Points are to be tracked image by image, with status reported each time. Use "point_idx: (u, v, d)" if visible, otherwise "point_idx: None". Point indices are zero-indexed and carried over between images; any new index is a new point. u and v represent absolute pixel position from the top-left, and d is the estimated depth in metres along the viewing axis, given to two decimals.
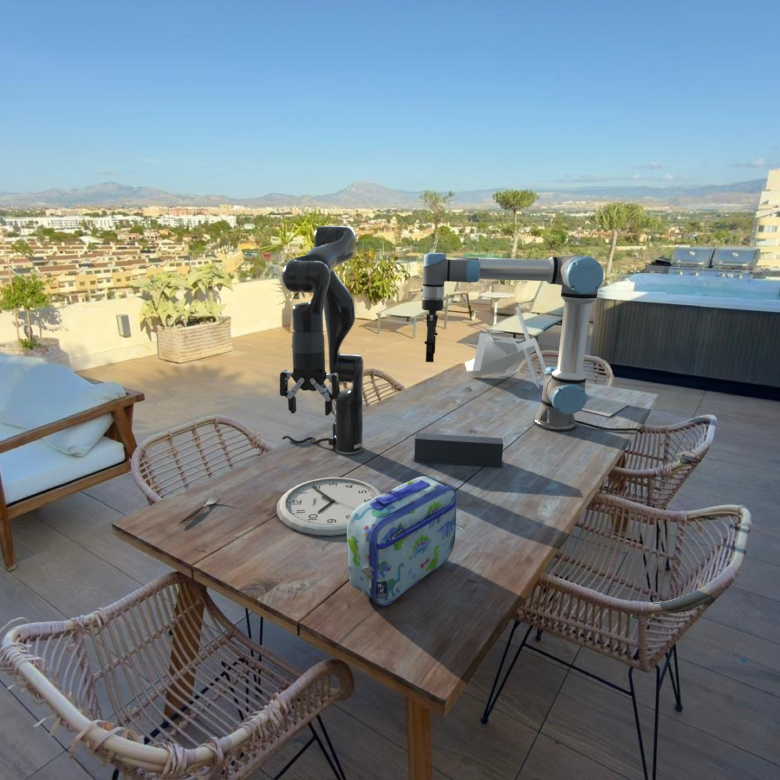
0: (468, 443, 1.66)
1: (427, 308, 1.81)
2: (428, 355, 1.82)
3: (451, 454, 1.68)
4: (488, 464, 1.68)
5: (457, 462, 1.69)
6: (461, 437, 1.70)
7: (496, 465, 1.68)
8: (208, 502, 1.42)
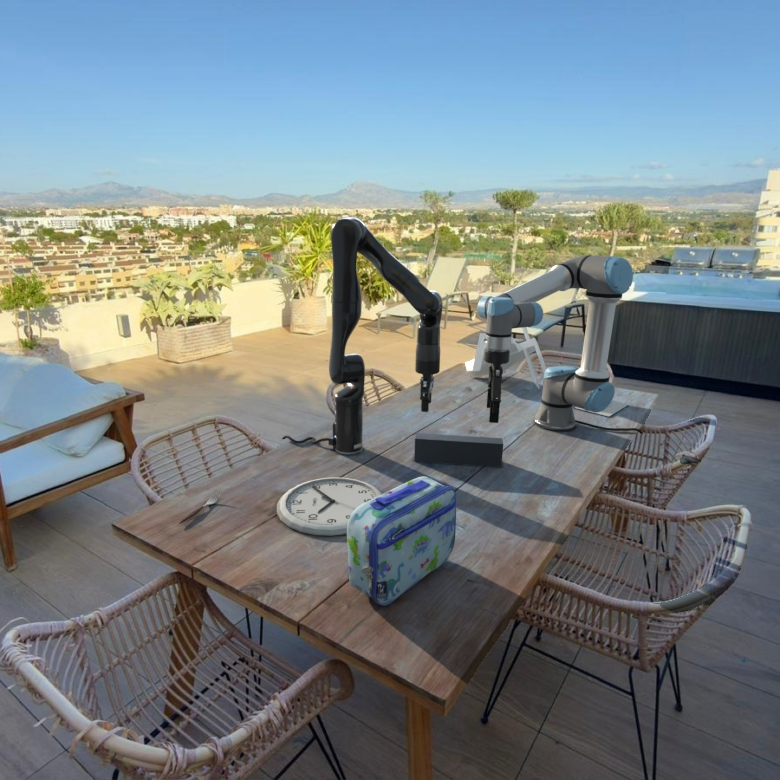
0: (468, 443, 1.66)
1: (492, 361, 1.57)
2: (492, 414, 1.58)
3: (451, 454, 1.68)
4: (488, 464, 1.68)
5: (457, 462, 1.69)
6: (461, 437, 1.70)
7: (496, 465, 1.68)
8: (208, 502, 1.42)
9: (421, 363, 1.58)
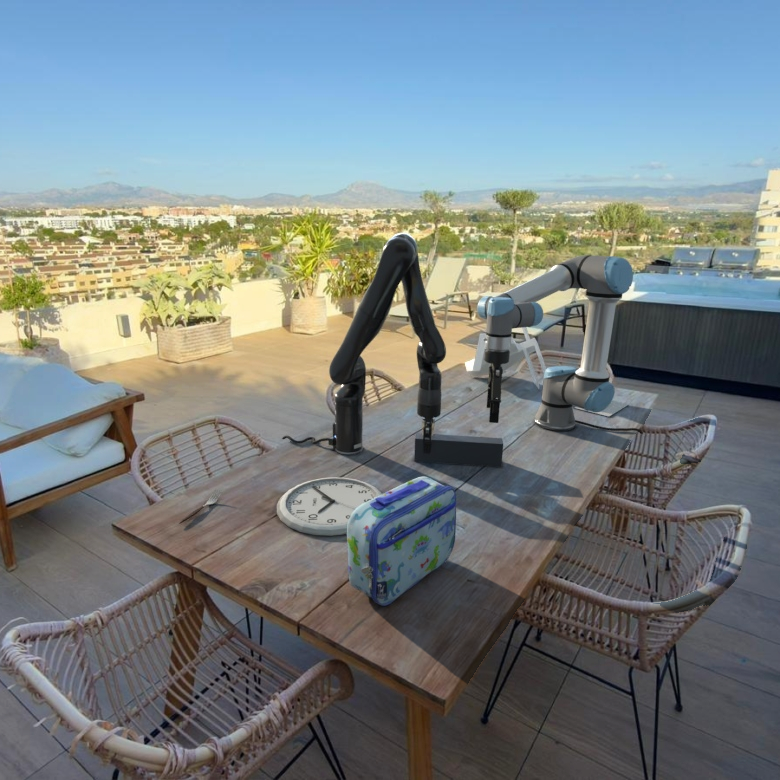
0: (468, 443, 1.66)
1: (492, 361, 1.57)
2: (492, 414, 1.58)
3: (451, 454, 1.68)
4: (488, 464, 1.68)
5: (457, 462, 1.69)
6: (461, 437, 1.70)
7: (496, 465, 1.68)
8: (208, 502, 1.42)
9: (423, 407, 1.64)
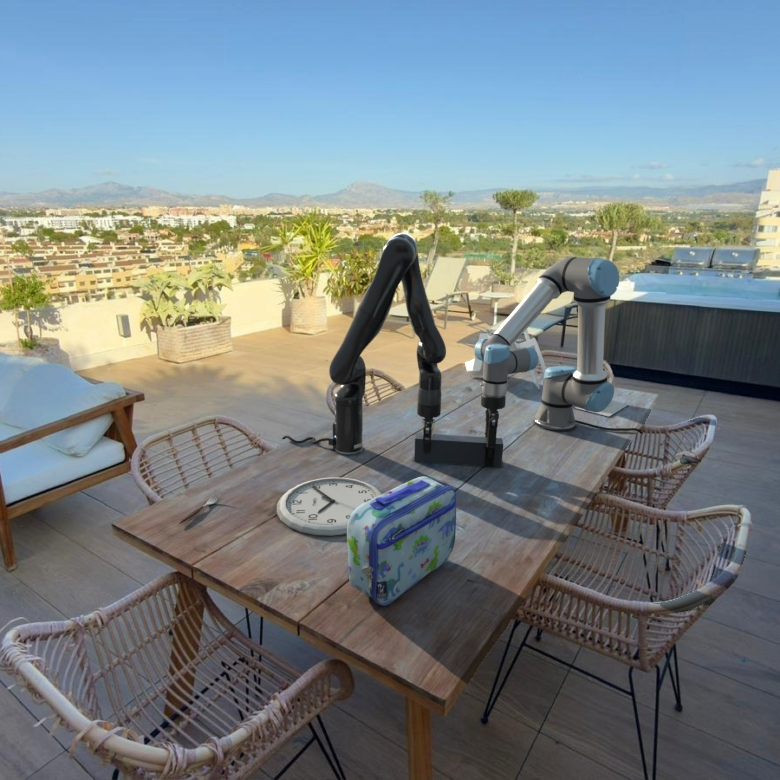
0: (468, 443, 1.66)
1: (488, 406, 1.61)
2: (487, 459, 1.66)
3: (451, 454, 1.68)
4: None
5: (457, 462, 1.69)
6: (461, 437, 1.70)
7: (496, 465, 1.68)
8: (208, 502, 1.42)
9: (423, 407, 1.64)
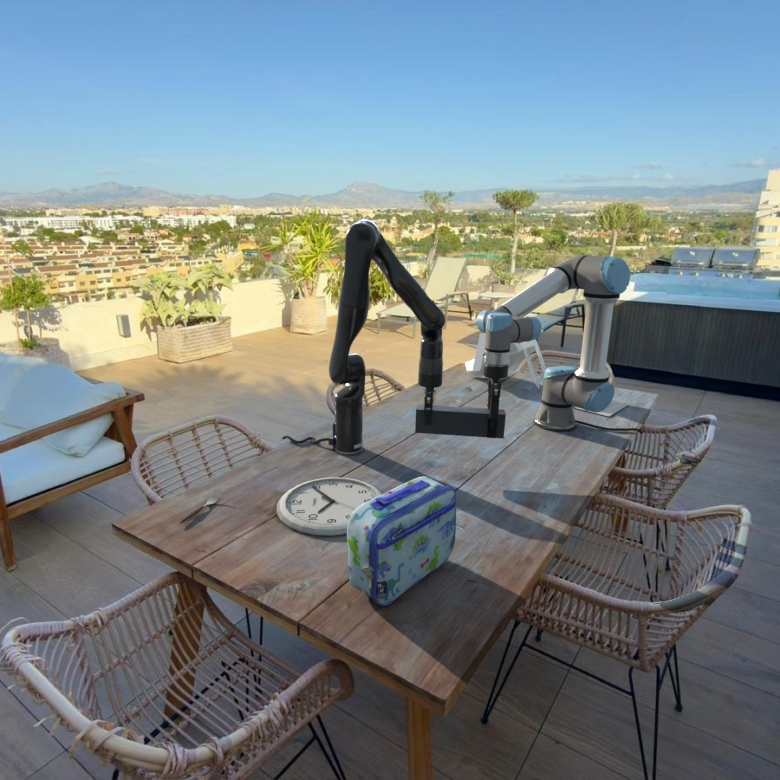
0: (470, 413, 1.64)
1: (490, 376, 1.58)
2: (490, 430, 1.64)
3: (452, 425, 1.66)
4: None
5: (459, 433, 1.66)
6: (463, 408, 1.67)
7: (498, 436, 1.65)
8: (208, 502, 1.42)
9: (425, 376, 1.61)
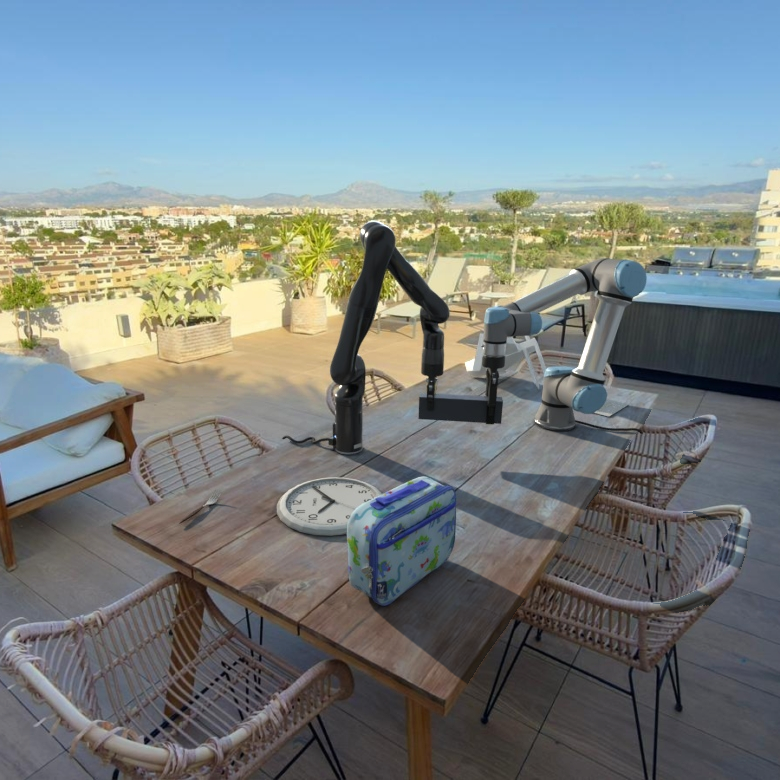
0: (469, 401, 1.75)
1: (489, 366, 1.70)
2: (488, 417, 1.75)
3: (453, 411, 1.77)
4: None
5: (459, 419, 1.78)
6: (463, 396, 1.79)
7: (496, 422, 1.77)
8: (208, 502, 1.42)
9: (427, 366, 1.73)
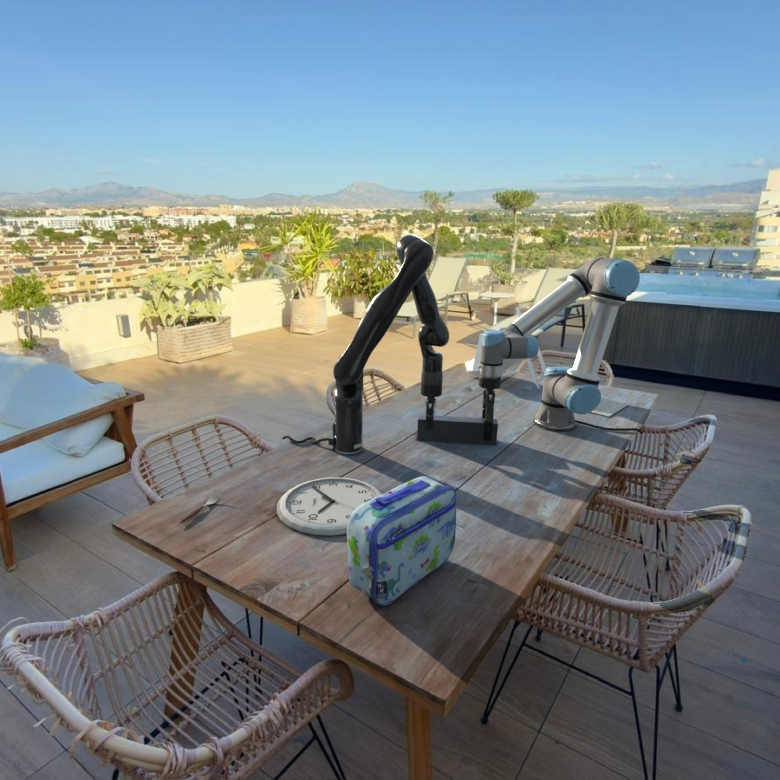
0: (466, 423, 1.83)
1: (485, 386, 1.78)
2: (486, 434, 1.79)
3: (450, 433, 1.85)
4: (484, 442, 1.85)
5: (456, 440, 1.86)
6: (460, 418, 1.87)
7: (491, 443, 1.85)
8: (208, 502, 1.42)
9: (426, 387, 1.80)
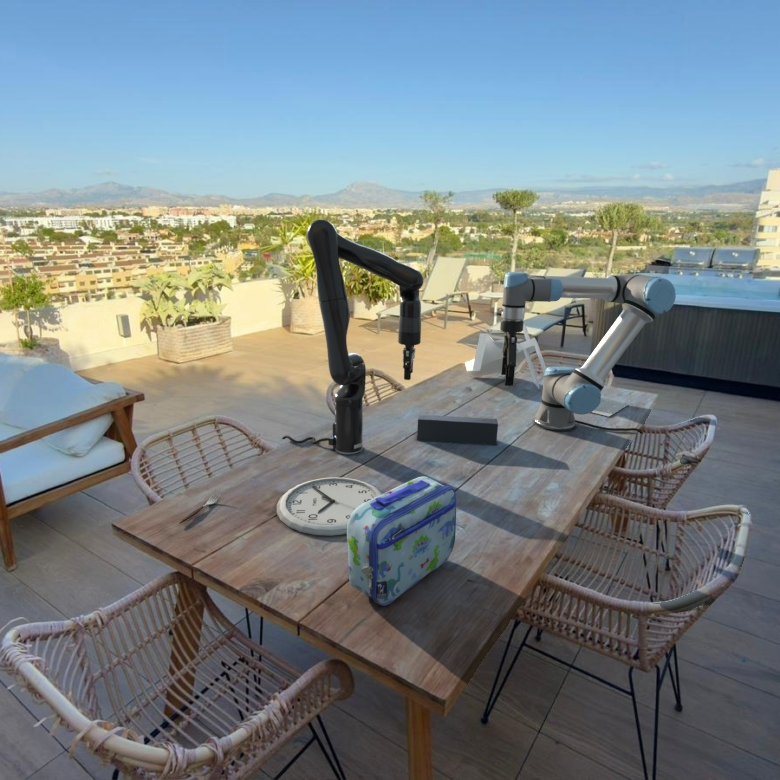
0: (466, 423, 1.83)
1: (507, 330, 1.73)
2: (508, 378, 1.74)
3: (450, 433, 1.85)
4: (484, 442, 1.85)
5: (456, 440, 1.86)
6: (460, 418, 1.87)
7: (491, 443, 1.85)
8: (208, 502, 1.42)
9: (404, 334, 1.72)
